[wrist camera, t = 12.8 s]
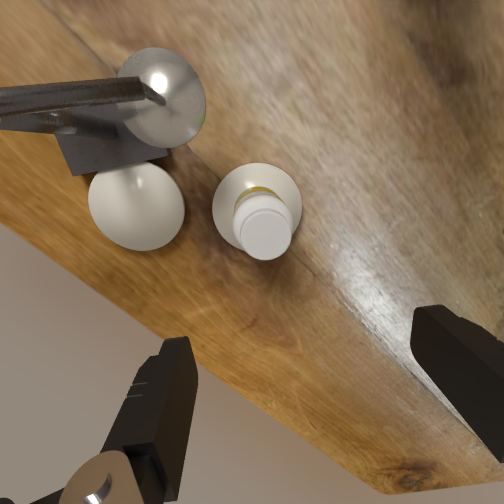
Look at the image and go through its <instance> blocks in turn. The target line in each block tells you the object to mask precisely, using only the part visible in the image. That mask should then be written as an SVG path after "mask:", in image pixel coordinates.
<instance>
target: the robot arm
mask: <svg viewBox="0 0 504 504" xmlns="http://www.w3.org/2000/svg"><path fill="white" fill-rule="evenodd" d="M410 347H411V351H412V354H413V356H414V358H415V360H416V361H417V362H418V364H419V365H420V366H421V367H422V368H423V370H424V371H425V372H426V373H427V375H428V376H429V377H430V378H431V379H432V381H433V382H434V383H435V384H436V385H437V387H438V388H439V389H440V390H441V392H442V393H443V394H444V395H445V396H446V398H447V399H448V400H449V401H450V403H451V404H452V405H453V406H454V407H455V409H456V410H457V411H458V412H459V413H460V415H461V416H462V417H463V418H464V420H465V421H466V422H467V423H468V424H469V426H470V427H471V428H472V429H473V431H474V432H475V433H476V434H477V435H478V437H479V438H480V439H481V440H482V441H483V443H484V444H485V445H486V446H487V448H488V449H489V450H490V451H491V452H492V454H493V455H494V456H495V457H496V459H497V460H498V461H499V462H500V463H504V343H503V342H501V341H500V340H499V341H498V340H497V338H496V337H495V336H493V335H492V334H491V333H489V332H488V331H487V330H485V329H484V328H483V327H481V326H479V325H477V324H475V323H473V322H471V321H469V320H466V319H464V318H462V317H460V318H459V317H458V316H457V315H455V314H454V313H453V312H451V311H450V310H449V309H448V308H446V307H445V306H443V305H432V306H424V307H417V308H416V309H415V310H414V315H413V323H412V331H411V339H410ZM132 384H133V385H132V386H131V387H130V390H129V391H128V394H127V398H126V399H125V400H124V402H123V405H122V406H121V409H120V411H119V413H118V415H117V418H116V419H115V422H114V424H113V426H112V428H111V431H110V432H109V435H108V437H107V439H106V441H105V443H104V446H103V448H102V450H101V451H100V453H99V455H96V456H95V457H93V458H91V459H90V460H88V461H87V462H86V463H85V464H84V465H82V466H81V467H80V468H79V469H78V470H77V471H76V472H75V474H74V475H73V476H72V478H71V479H70V480H69V482H68V483H67V485H66V486H65V487H64V488H62V489H61V490H59V491H56V492H54V493H52V494H50V495H48V496H46V497H43V498H41V499H39V500H37V501H35V502H33V503H30V504H163V503H164V502H171V501H177V498H178V493H179V488H180V482H181V477H182V471H183V465H184V460H185V455H186V449H187V444H188V438H189V433H190V427H191V422H192V416H193V410H194V405H195V399H196V393H197V388H198V371H197V367H196V363H195V359H194V355H193V352H192V348H191V344H190V341H189V338H188V337H187V336H184V337H177V338H169V339H165V340H164V342H163V344H162V347H161V350H160V352H159V355H156V356H150V357H149V358H148V359H147V360H146V362H145V363H144V364H143V365H142V366H141V367H140V368H139V370H138V372H137V374H136V377H135V378H134V381H133V383H132ZM0 504H14V503H13V501H12V500H10V499H8V498H0Z"/></svg>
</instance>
